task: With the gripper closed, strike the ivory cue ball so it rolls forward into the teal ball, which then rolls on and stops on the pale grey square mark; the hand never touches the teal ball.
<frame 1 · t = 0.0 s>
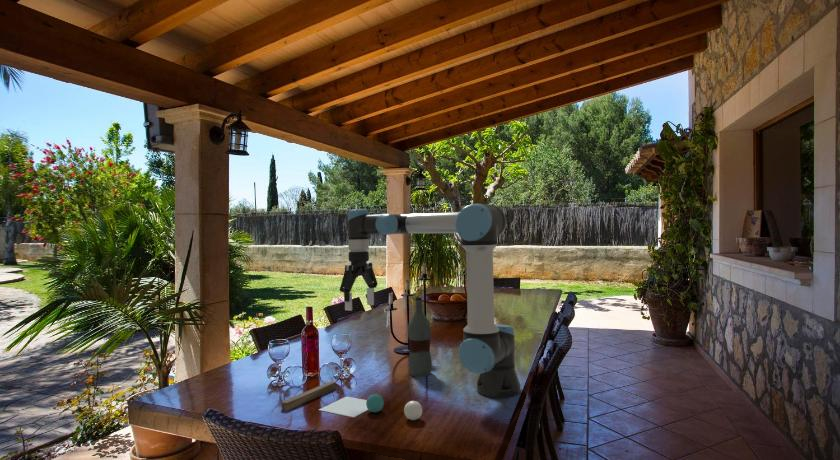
hand: (359, 307, 190), 28 cm above the table, tool pointing down, fingers open, 13 cm apart
bottle: (420, 374, 200), on the table
cue ball: (413, 410, 152), on the table
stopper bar: (310, 398, 173), on the table
teal ball: (375, 403, 159), on the table
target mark: (349, 406, 164), on the table
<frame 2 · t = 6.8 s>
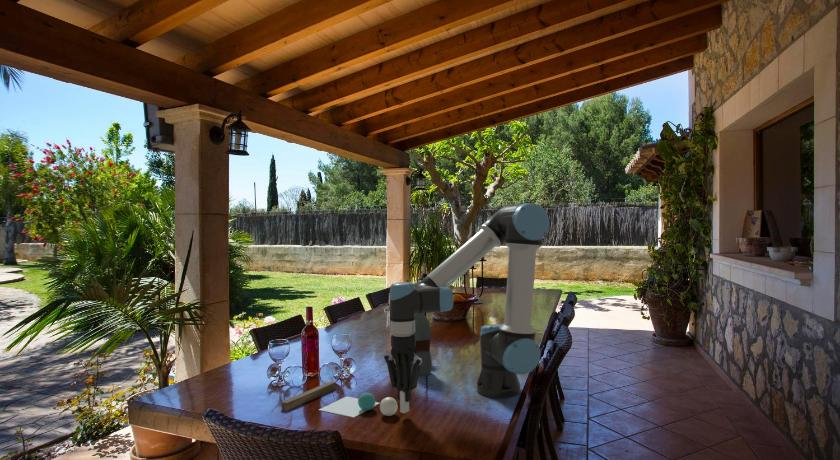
hand: (404, 411, 154), 2 cm above the table, tool pointing down, fingers closed
cue ball: (388, 406, 156), on the table
teal ball: (366, 401, 161), on the table
everything else where it was.
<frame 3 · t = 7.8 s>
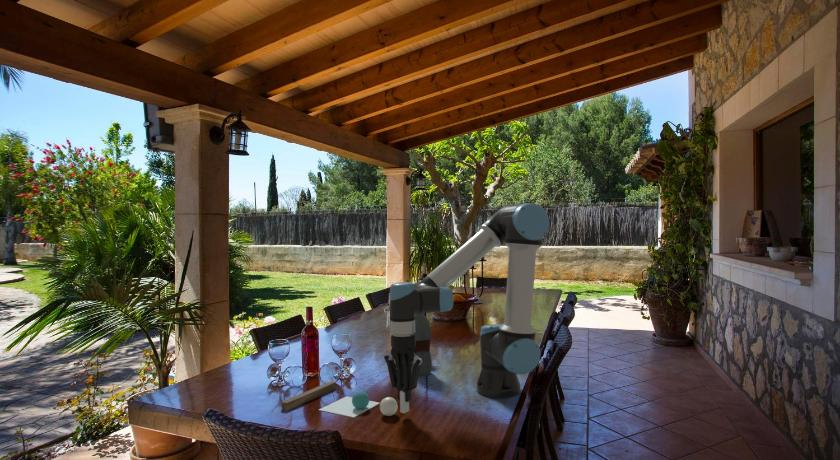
hand: (404, 411, 154), 2 cm above the table, tool pointing down, fingers closed
teal ball: (360, 400, 162), on the table
everything else where it was.
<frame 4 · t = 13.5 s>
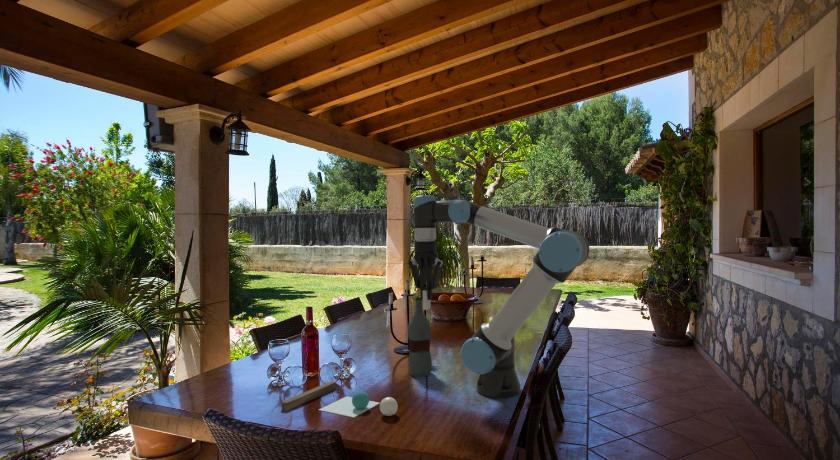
hand: (426, 309, 175), 29 cm above the table, tool pointing down, fingers closed
nothing on the table moved.
at the end: teal ball 4.3 cm from the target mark (horizontally); teal ball never touched the robot; cue ball first touched teal ball at 6.4 s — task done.
